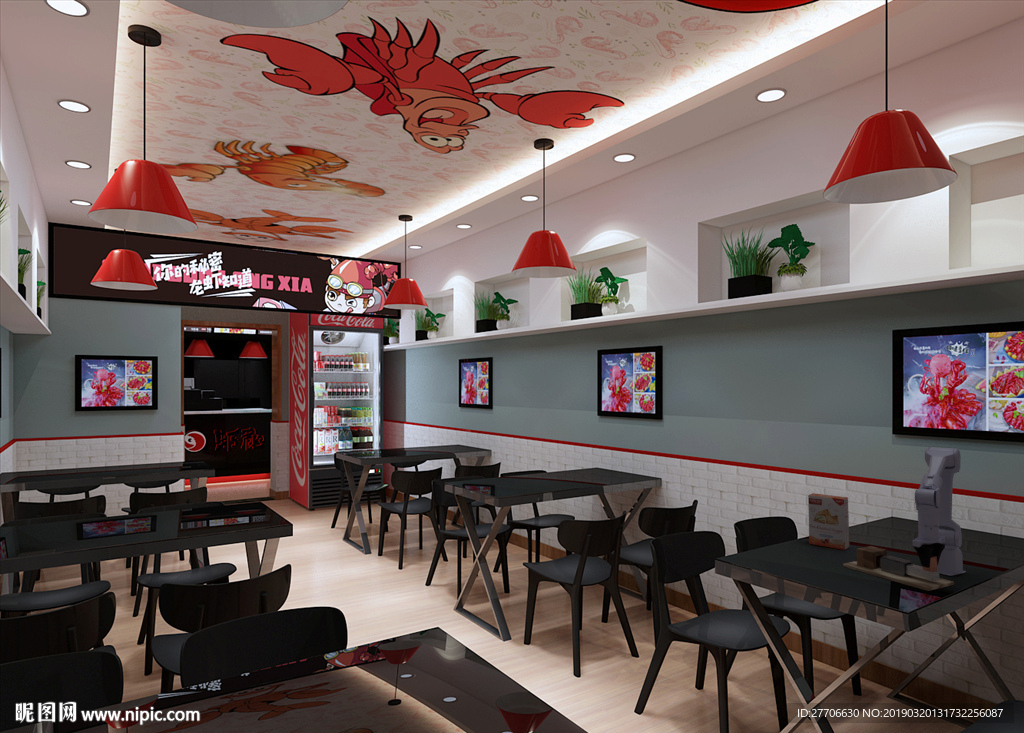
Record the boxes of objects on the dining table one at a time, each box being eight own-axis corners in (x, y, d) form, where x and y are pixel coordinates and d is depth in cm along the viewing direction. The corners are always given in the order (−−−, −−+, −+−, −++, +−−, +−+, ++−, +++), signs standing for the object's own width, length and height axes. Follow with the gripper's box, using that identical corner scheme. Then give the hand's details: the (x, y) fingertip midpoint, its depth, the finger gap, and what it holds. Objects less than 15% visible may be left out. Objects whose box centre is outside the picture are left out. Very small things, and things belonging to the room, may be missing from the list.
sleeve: (889, 568, 215) (889, 555, 215) (912, 574, 208) (912, 560, 208) (881, 570, 213) (880, 556, 213) (904, 576, 206) (903, 562, 206)
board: (867, 561, 227) (867, 558, 227) (953, 584, 200) (953, 581, 200) (842, 566, 221) (842, 563, 221) (928, 591, 194) (928, 587, 194)
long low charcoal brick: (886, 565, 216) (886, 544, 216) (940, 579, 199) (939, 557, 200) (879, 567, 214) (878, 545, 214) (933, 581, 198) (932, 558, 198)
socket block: (871, 562, 223) (870, 545, 223) (887, 566, 218) (886, 549, 218) (857, 565, 220) (856, 548, 220) (872, 569, 214) (872, 552, 214)
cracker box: (808, 544, 253) (807, 494, 253) (813, 541, 257) (812, 492, 258) (845, 550, 243) (843, 498, 243) (849, 547, 247) (848, 496, 248)
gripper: (927, 529, 194) (929, 572, 194) (954, 525, 201) (955, 566, 200) (905, 525, 201) (906, 566, 200) (931, 520, 207) (933, 560, 206)
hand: (929, 566), depth 201 cm, fingers closed on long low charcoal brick, 4 cm apart
